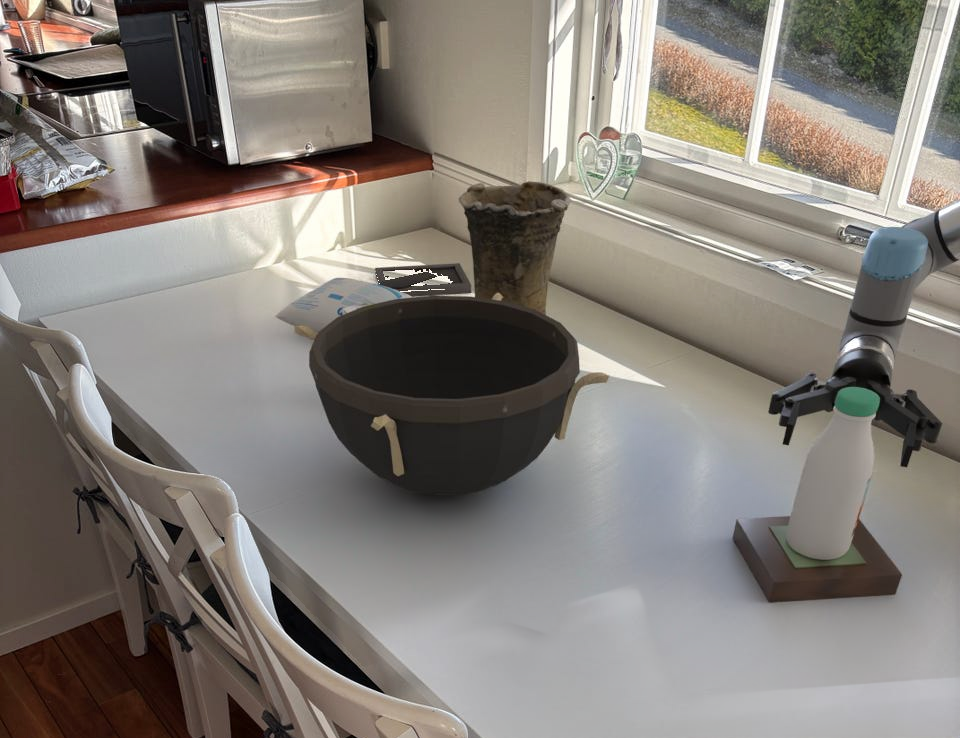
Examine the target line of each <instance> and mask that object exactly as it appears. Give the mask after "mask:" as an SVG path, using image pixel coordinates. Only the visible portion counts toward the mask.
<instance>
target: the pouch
mask: <svg viewBox="0 0 960 738" xmlns="http://www.w3.org/2000/svg"><path fill="white" fill-rule="evenodd" d="M413 297H414V296H410V295H408V294H406V293H403V292H400V291H398V290H395V289H392V288H388V287H385V286H382V285H378V283H373V282H370V281H369V282H368V281H364V280H360V279H356V278H349V277H334V278H332V279H330V280H328V281H326V282H325V283H323V284H321V285H320V286H318V287H316V288H315V289H313V290H311V291H309V292H307V293H305V294H304V295H302V296H300V297H299V298H297V299H295V300H294V301H292V302H291V303H290V304H289V303H288V305H287V306H285V307H283V308H282V309H281V310H280V311H279V312H278V313H277V314H275V315H274V317H275V318H277V319H279V320H280V321H282V322H284V323H286V324H289V325H291V326H293V327H294V326H301V325H304V326H307V327H309V328H311V329H312V330H313V331H314V332H315V333H316V334H318V332H319V331H320V330H322V329H323V328H324V327H325V326H327V325H328V324H329V323H331V322H332V321H333V320H334V319H336V318H337V317H339V316H342V315H343V311H342V308H346V307H349V306H353V305H358V304H364V303H375V304H377V303H381V302H385V301H390V300H394V299H402V298H413Z"/></svg>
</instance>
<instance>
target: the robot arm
mask: <svg viewBox="0 0 960 738" xmlns="http://www.w3.org/2000/svg"><path fill="white" fill-rule="evenodd" d="M958 261H960V198H959V199H956V200H954V201H952V202H951V203H949V204H946V205H944V206H943V207H941V208H940V209H937V210H936V211H933V212H931V213H929V214H927V215H926V216H924V217H923V216H922V217H918V218H915V219H913V220H911V221H909V222H907V223H905V224H904V225H902V226H886V227H883V228H882V227H881V228H878V229H876V230H874V231H873V232H872V233H871V234H870V236H869V238H868V241H867V245H866V248H865V251H864V252H863V254H862V257H861V265H860V269H859V272H858V273H859V274H858V277H857V281H856V285H855V289H854V293H853V297H852V301H851V305H850V308H849V311H848V314H847V318H846V322H845V326H844V330H843V332H842V335H841V336H842V337H841V339H840V342H839V343H840V344H839V350H838V354H837V356H836V359H835V362H834V365H833V366H834V367H833V370H832V373H831V376H830V377H831V378H829V379H828V380H827V381H823V380H819V378H818V377H817V374H816V373H814V372H807V373H806V375H805V376H804V378H802V379H800V380H798V381H796V382H794V383H791V384H790V385H787V386H786V387H783V388H781V389H779V390H776V391H775V392H773V393H771V398H770V401H769V406H768V411H767V412H768V414H769V415H778V414H779V415H780V417H779V420H778V426H779V427H783V428H785V432H784V436H783V440H782V445H784V446H789V445H790V442H791V440H792V437H793V433H794V430H795V427H796V424H797V420H798V418H800V417H803V416H807V415H811V414H815V413H819V412H822V411H825V412H827V413H830V412H834V410H833V408H834V406H835V400H836V397H837V394H838V392H839V391H840V390H841V389H843V388H847V387H859V388H865V389H868V390H871V391H873V392H875V393H876V394H877V395H878V396H879V398H880V403H879V407H878V409H877V411H876V416H875V418H873V419H872V420H875V421H877V422H878V421H879V422H880V421H882V422H884V423H885V424H886V425H888V426H889V427H890V428H892V429H893V430H895V432H897V433H899V434H900V435H902V436H903V437H904V439H903V441H902V443H903V444H902V448H901V457H900V464H899V465H900V466H899V467H902V468H908V466H909V463H910V459H911V457H912V455H913V451H915V452H920V451H921V450H922V446H923V444H924V442H925V441H926V442H927V443H928V444H936V443H937V441H938V438H939V435H940V432H941V429H942V426H943V422H942V421H941V420H940V419H939V418H938V417H937V416H936V415H935V414H934V413H933V412H932V411H931V410H930V409H929V407H927V405H925V404H924V403H923V401H922V400H921V399H920V398H918V392H917V390H915V389H911V388H909V389H907V390H906V391H905V392H903V393H902V394H901V393H894V390H893V389H892V388H891V386H892V380H893V374H894V366H895V360H896V355H897V351H898V347H899V345H900V341H901V337H902V334H903V332H904V328H905V324H906V321H907V318H908V313H909V309H910V308H911V307H910V306H911V304H912V301H913V298H914V295H915V291H916V289H917V288H918V287H919V286H920V285H921V284H922V282H923V281H925V280H926V279H927V277H928V276H930V275H932V274H933V273H935V272H937V271H940V270H942V269H944V268H947V267H949V266H950V265H952V264H955V263H956V262H958Z"/></svg>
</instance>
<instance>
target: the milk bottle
mask: <svg viewBox="0 0 960 738" xmlns="http://www.w3.org/2000/svg"><path fill="white" fill-rule="evenodd" d="M879 403H880V398H879V396H878V395H877V394H876V393H875V392H873V391H871V390H868V389H865V388H859V387H847V388H843V389H841V390H840V391H839V392H838V394H837V397H836V400H835V406H834V408H833V410H834V411H833V412H834V413H833V416H832V417H831V419H830V421H829V423H828V424H827V426H826V427H825V428H824V429H823V431H822V432H821V433H820V434H819V435H818V436H817V438H816V439H815V440H814V441H813V443H812V445H811V447H810V448H809V451H808V452H807V455H806V459H805V462H804V464H803V469H802V472H801V475H800V480H799V482H798V486H797V490H796V494H795V498H794V502H793V505H792V509H791V513H790V515H789V516H790V520H789V524H788V528H787V533H786V539H787V542H788V544H789V546H790V547H791V548H792V549H793V550H795V551H796V552H798V553H799V554H802V555H804V556H806V557H809V558H814V559H820V560H831V559H836V558H839V557H841V556H843V555H844V554H845V553H846V552H847V551H848V550H849V547H850V544H851V542H852V539H853V535H854V532H855V529H856V526H857V523H858V520H859V519H860V516H861V513H862V510H863V507H864V503H865V500H866V497H867V493H868V490H869V487H870V483H871V479H872V475H873V472H874V468H875V448H874V443H873V438H872V437H873V435H872V421H873V420H874V419H873V418H875V416H876V411H877V409H878V407H879Z"/></svg>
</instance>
